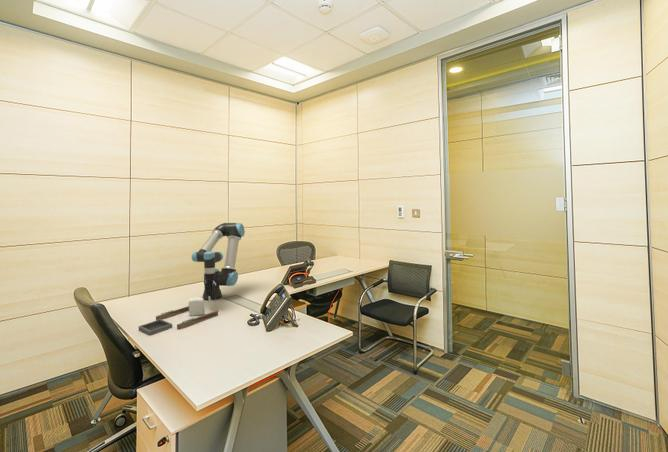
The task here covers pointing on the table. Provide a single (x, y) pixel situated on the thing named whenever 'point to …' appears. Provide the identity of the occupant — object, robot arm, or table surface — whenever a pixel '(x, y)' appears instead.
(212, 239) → the robot arm
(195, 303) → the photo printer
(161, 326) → the tray
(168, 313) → the brown parallel rails
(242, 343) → the table surface
